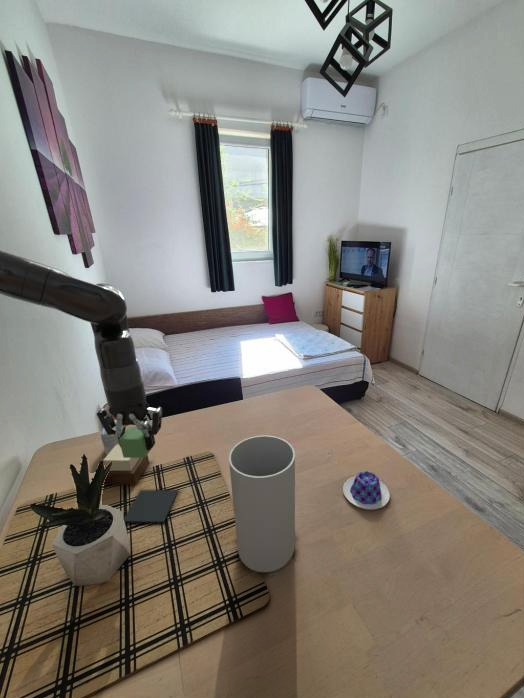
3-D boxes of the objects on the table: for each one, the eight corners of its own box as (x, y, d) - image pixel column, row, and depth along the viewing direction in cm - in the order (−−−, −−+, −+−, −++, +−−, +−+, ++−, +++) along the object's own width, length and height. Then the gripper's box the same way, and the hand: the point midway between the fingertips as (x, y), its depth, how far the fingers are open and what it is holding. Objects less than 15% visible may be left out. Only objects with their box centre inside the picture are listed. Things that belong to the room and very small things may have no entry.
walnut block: (103, 484, 89) (100, 473, 88) (119, 463, 98) (117, 452, 96) (136, 484, 89) (133, 473, 88) (149, 463, 98) (147, 452, 96)
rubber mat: (122, 522, 78) (122, 521, 77) (141, 491, 87) (140, 490, 87) (164, 523, 77) (163, 521, 77) (178, 492, 87) (177, 490, 86)
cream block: (105, 470, 89) (103, 460, 87) (118, 454, 95) (116, 444, 94) (131, 470, 89) (128, 460, 87) (142, 454, 95) (140, 444, 94)
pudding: (333, 486, 88) (334, 471, 86) (368, 472, 93) (370, 457, 91) (362, 518, 78) (364, 502, 76) (399, 500, 83) (402, 484, 81)
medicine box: (122, 455, 101) (116, 431, 98) (106, 458, 100) (100, 435, 96) (124, 441, 108) (118, 418, 104) (109, 444, 106) (103, 421, 103)
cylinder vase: (304, 537, 73) (306, 447, 64) (275, 586, 64) (271, 487, 54) (259, 515, 79) (254, 429, 70) (226, 556, 69) (214, 462, 60)
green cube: (123, 457, 73) (118, 439, 71) (133, 444, 78) (129, 426, 76) (145, 457, 73) (141, 439, 71) (154, 444, 78) (150, 426, 76)
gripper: (163, 374, 72) (174, 438, 78) (99, 374, 72) (116, 438, 79) (149, 389, 65) (163, 458, 71) (78, 389, 65) (98, 458, 72)
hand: (138, 447), depth 75 cm, fingers closed on green cube, 5 cm apart
